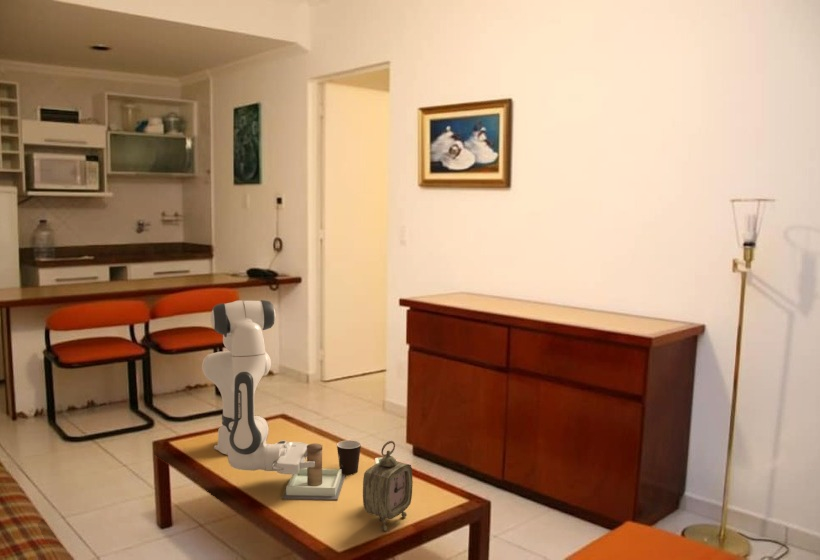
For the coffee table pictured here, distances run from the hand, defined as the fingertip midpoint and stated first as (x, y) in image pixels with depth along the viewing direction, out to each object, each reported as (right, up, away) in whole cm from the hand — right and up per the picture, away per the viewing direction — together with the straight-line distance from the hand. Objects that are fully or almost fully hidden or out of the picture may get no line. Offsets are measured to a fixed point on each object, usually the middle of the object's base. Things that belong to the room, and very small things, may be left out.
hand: (317, 458), depth 227 cm
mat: (-1, -10, +1) cm, 10 cm away
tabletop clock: (+24, -13, -24) cm, 36 cm away
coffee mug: (+10, -9, +17) cm, 21 cm away
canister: (-1, -9, +1) cm, 9 cm away
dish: (-1, -10, +1) cm, 10 cm away
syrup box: (+23, -12, -12) cm, 28 cm away
